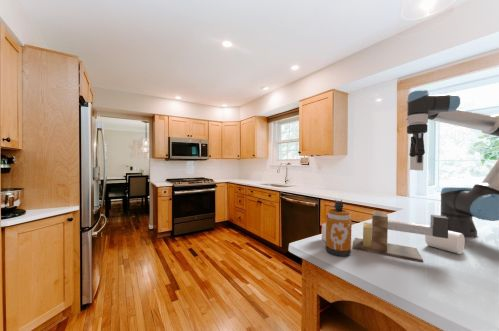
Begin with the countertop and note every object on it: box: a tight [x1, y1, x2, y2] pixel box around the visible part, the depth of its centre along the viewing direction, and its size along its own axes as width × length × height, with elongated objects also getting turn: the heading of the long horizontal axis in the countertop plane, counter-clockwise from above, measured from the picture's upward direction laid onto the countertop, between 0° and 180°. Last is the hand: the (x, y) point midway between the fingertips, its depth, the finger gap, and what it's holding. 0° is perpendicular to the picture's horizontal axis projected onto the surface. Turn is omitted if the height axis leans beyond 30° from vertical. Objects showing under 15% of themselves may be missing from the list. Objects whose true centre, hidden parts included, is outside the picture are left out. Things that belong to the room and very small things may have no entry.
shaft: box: [388, 214, 448, 238], centre depth 80 cm, size 20×4×7 cm, turn 60°
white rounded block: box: [424, 231, 466, 255], centre depth 86 cm, size 12×10×8 cm
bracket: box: [352, 210, 424, 262], centre depth 84 cm, size 22×12×14 cm, turn 60°
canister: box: [325, 199, 353, 257], centre depth 81 cm, size 9×11×20 cm
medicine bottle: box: [321, 213, 328, 242], centre depth 92 cm, size 7×7×12 cm
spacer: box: [362, 221, 372, 248], centre depth 87 cm, size 3×8×8 cm, turn 150°
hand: (416, 170), depth 98 cm, fingers open, 13 cm apart
